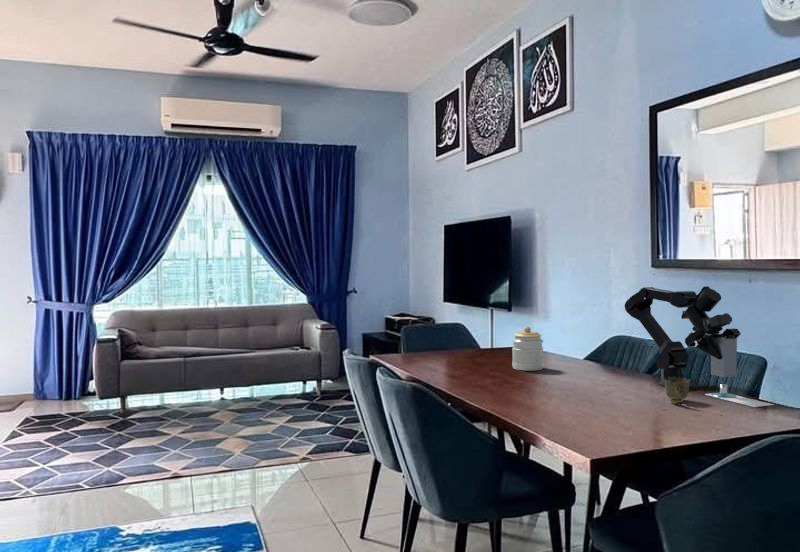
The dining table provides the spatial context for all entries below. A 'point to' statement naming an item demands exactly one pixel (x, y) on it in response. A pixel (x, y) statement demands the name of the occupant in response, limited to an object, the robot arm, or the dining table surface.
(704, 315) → the robot arm
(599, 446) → the dining table surface
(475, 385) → the dining table surface
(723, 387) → the teal base with post
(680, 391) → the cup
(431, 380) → the dining table surface
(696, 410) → the dining table surface
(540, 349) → the jar
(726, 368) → the tall grey box
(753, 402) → the mounting plate
